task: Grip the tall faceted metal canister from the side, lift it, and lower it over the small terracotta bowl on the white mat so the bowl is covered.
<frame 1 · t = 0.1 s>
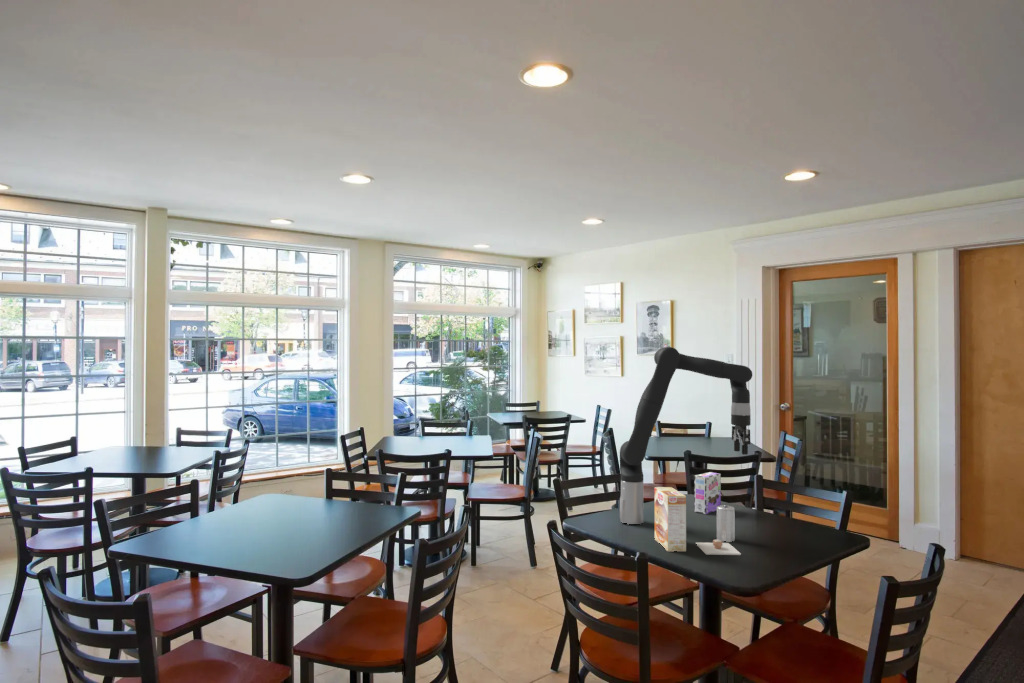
hand: (740, 452, 243), 29 cm above the table, tool pointing down, fingers open, 8 cm apart
faceted metal canister: (725, 539, 221), on the table
terracotta bowl: (717, 544, 209), on the white mat
coffeecake box: (669, 545, 213), on the table
white mat: (717, 549, 209), on the table
candy box: (707, 511, 264), on the table
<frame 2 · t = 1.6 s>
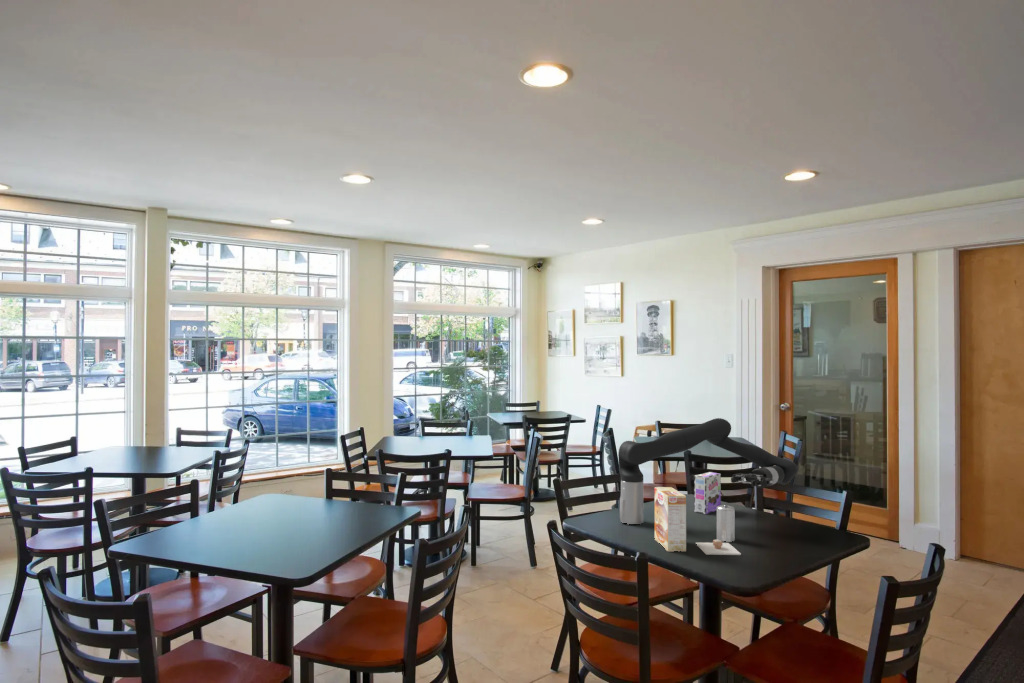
hand: (742, 481, 228), 20 cm above the table, tool horizontal, fingers open, 8 cm apart
nothing on the table moved.
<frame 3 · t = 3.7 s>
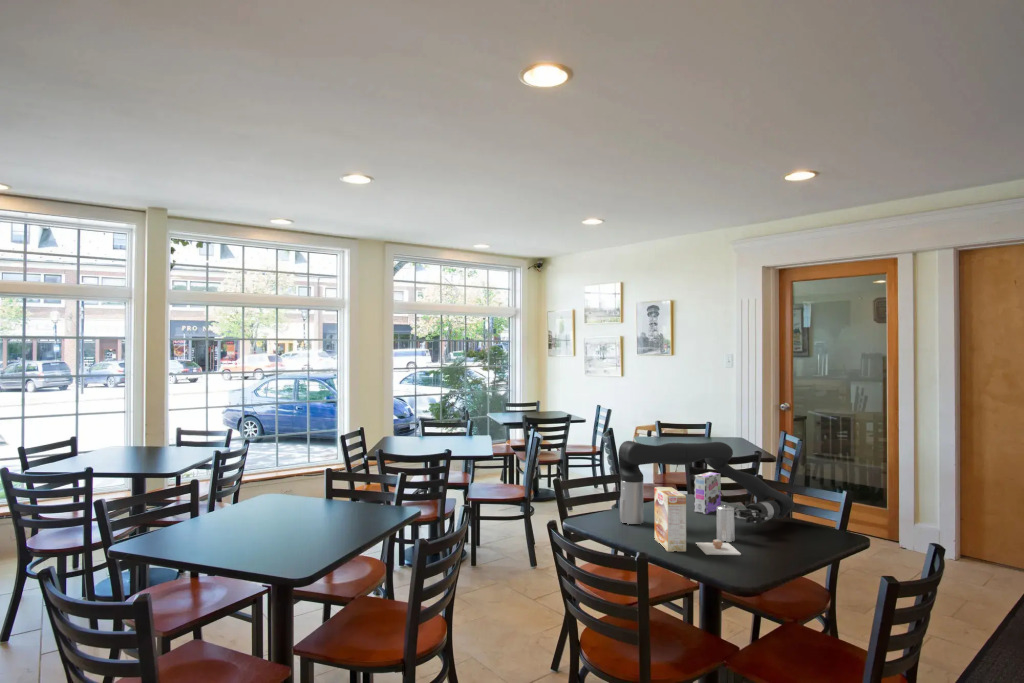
hand: (736, 517, 226), 7 cm above the table, tool horizontal, fingers open, 8 cm apart
nothing on the table moved.
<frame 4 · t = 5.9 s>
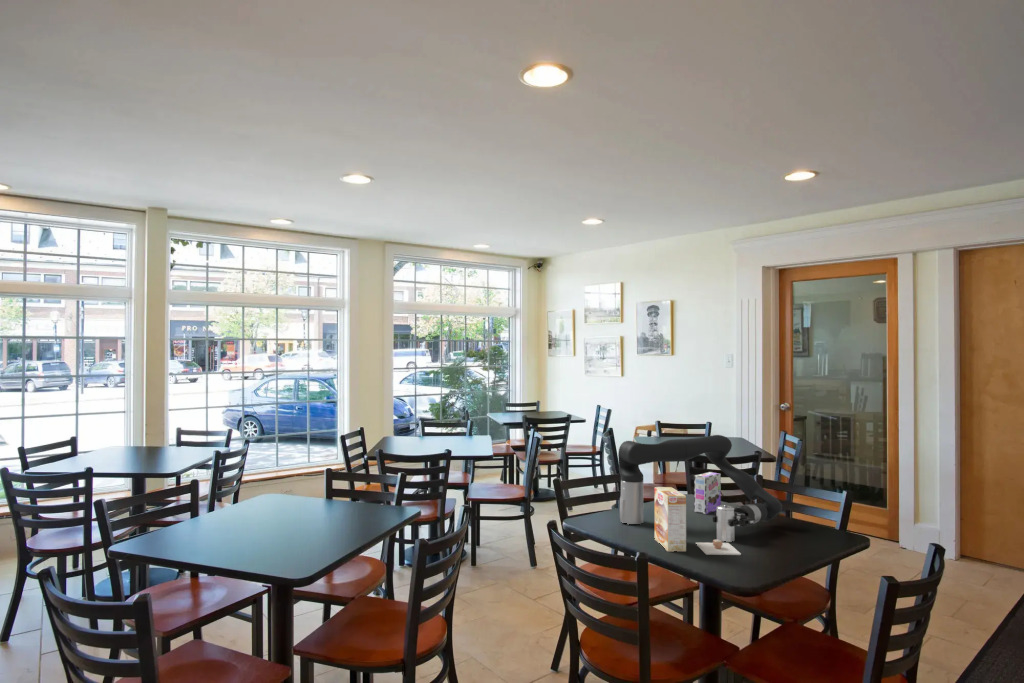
hand: (722, 521, 219), 7 cm above the table, tool horizontal, fingers closed on faceted metal canister, 6 cm apart
faceted metal canister: (725, 539, 221), on the table, touching gripper
everything else where it was.
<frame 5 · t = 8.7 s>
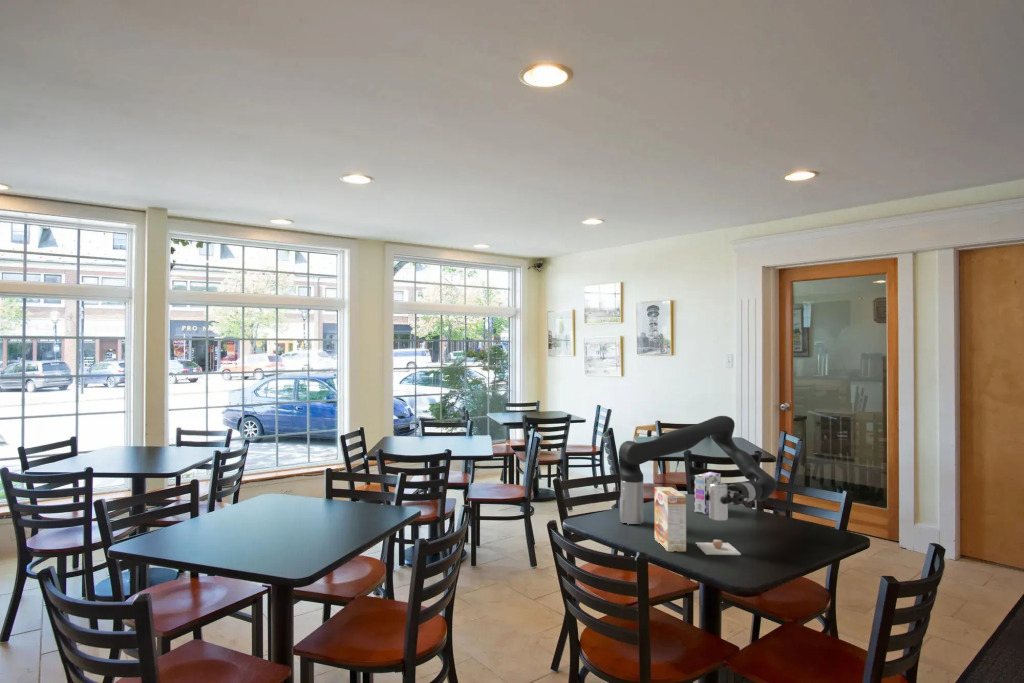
hand: (714, 499, 208), 18 cm above the table, tool horizontal, fingers closed on faceted metal canister, 6 cm apart
faceted metal canister: (718, 518, 210), point 11 cm above the table, touching gripper
everything else where it was.
when the fingers open (9 cm above the table, at t = 11.5 s): faceted metal canister drops 1 cm, resting on white mat.
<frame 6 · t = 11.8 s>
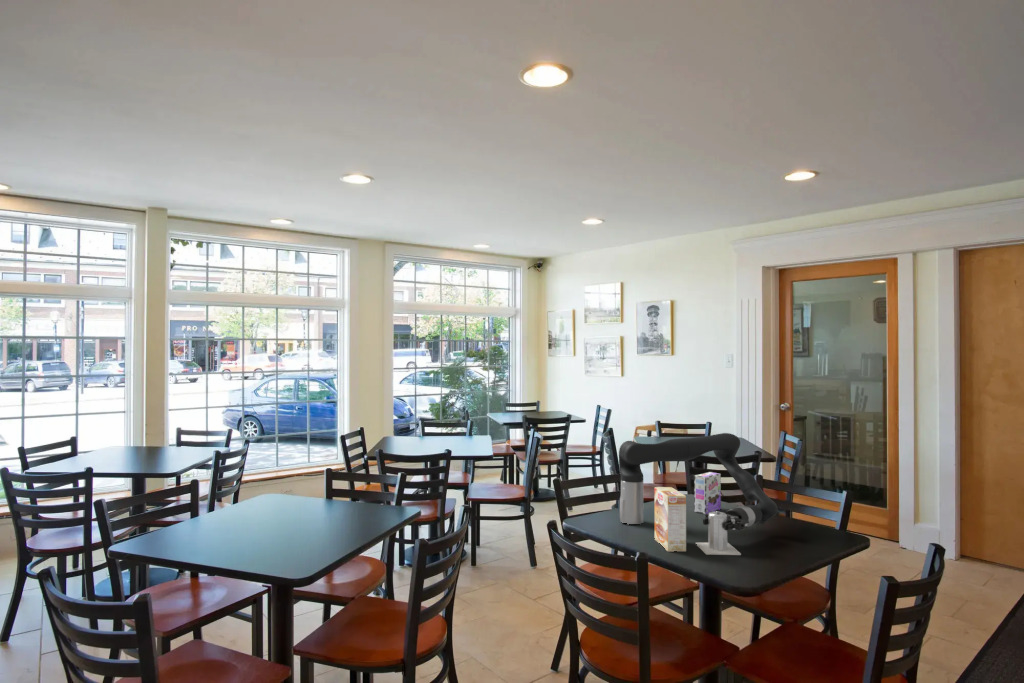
hand: (714, 524, 208), 9 cm above the table, tool horizontal, fingers open, 8 cm apart
faceted metal canister: (717, 547, 209), resting on white mat
everything else where it was.
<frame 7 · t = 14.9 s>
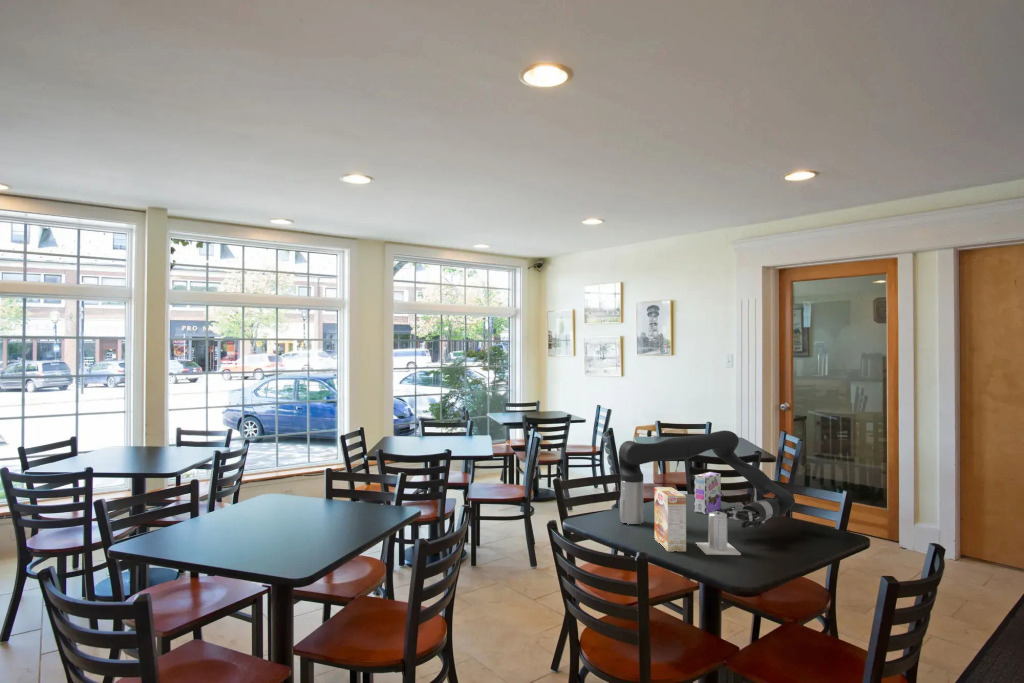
hand: (732, 521, 216), 8 cm above the table, tool horizontal, fingers open, 8 cm apart
nothing on the table moved.
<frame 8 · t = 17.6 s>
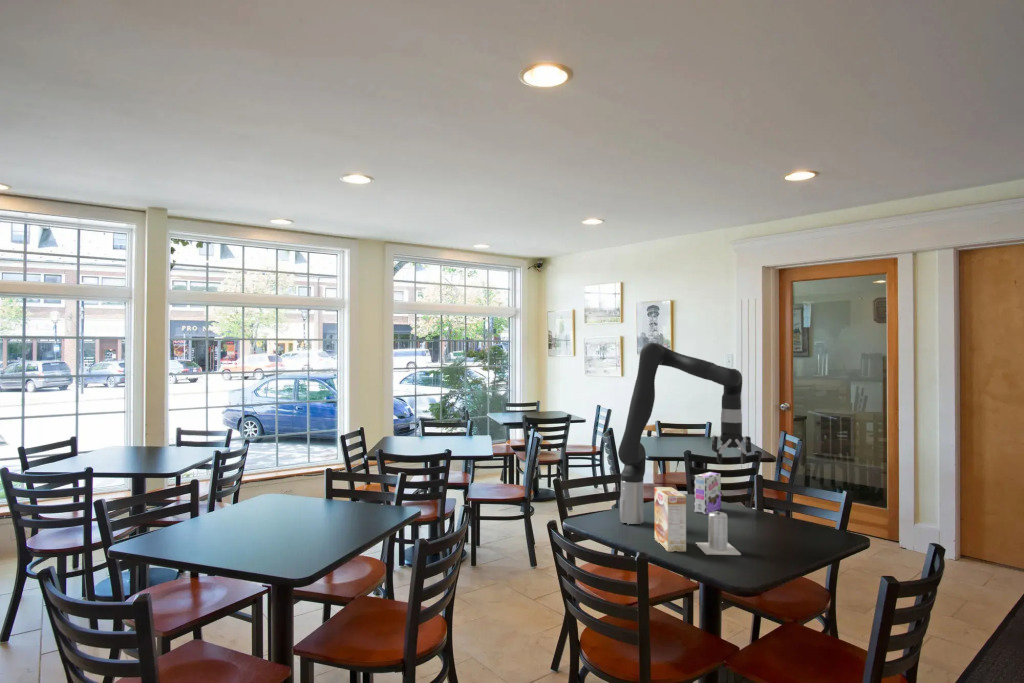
hand: (731, 463, 224), 28 cm above the table, tool pointing down, fingers open, 8 cm apart
nothing on the table moved.
at the end: faceted metal canister 0.1 cm from the terracotta bowl (horizontally); faceted metal canister tilted 0°; faceted metal canister point 0.5 cm above the table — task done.
